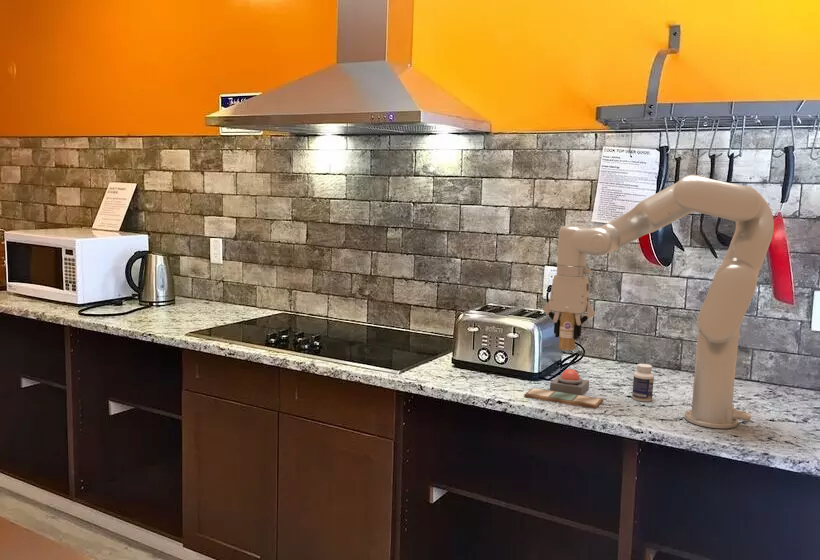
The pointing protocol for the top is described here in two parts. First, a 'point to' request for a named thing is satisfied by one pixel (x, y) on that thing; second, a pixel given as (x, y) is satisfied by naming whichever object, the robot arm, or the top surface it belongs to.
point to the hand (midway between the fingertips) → (567, 337)
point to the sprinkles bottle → (567, 331)
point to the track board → (564, 398)
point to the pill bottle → (643, 383)
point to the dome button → (570, 377)
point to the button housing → (569, 387)
